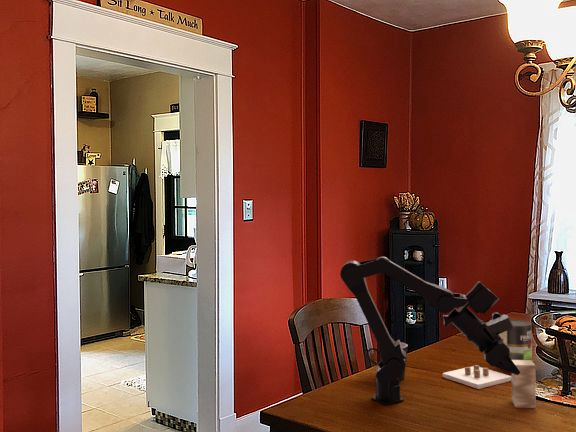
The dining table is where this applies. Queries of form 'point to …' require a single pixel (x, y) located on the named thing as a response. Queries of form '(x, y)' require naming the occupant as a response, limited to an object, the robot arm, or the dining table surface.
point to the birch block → (524, 384)
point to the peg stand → (477, 376)
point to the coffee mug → (400, 376)
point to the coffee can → (519, 340)
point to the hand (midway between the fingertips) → (515, 368)
